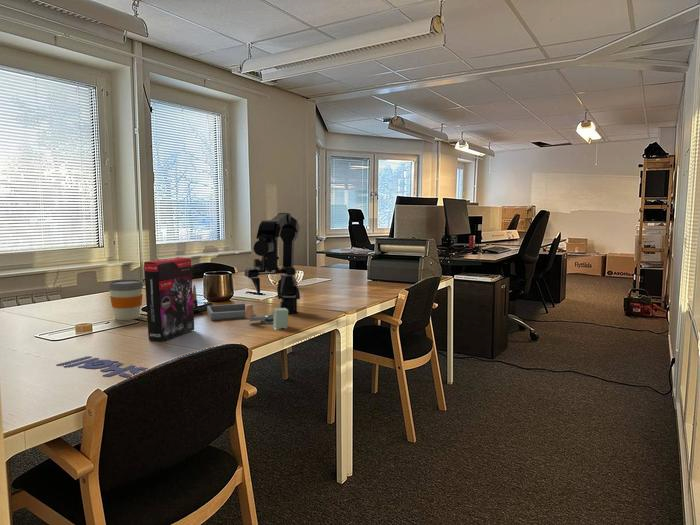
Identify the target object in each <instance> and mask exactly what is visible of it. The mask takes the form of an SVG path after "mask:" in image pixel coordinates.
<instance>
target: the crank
mask: <svg viewBox="0 0 700 525" xmlns="http://www.w3.org/2000/svg"><path fill="white" fill-rule="evenodd" d="M273 318H274V314H269V313H268V314H264V315H257V316H254V305H253V304H250V303H249V304H248V303H247V305H245V318H244V319H248V321H249V322H254V321H257V322H259V321H261V320H266V321H271V320H273Z"/></svg>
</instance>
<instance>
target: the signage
mask: <svg viewBox="0 0 700 525" xmlns="http://www.w3.org/2000/svg"><path fill="white" fill-rule="evenodd" d="M71 363H72V364H71ZM55 365H56V366H58V367H63V368H70V367H71V368H74V367H77V368H79V369H85V370H98V369H99V370H100V372H102V373H105V374H103V375H102V377H104V378H105V377H107V378H108V377H109V378H111V377H113V376H117V375H118V376H119V377H121V378H127V379H128V377H131V376H132V375H135V374H137V373H139V372H141V371H143V370H146V369H148V368H149V367H145V366H143V367H142V366H140V367H139V366H138V367H137V365H133V364H131V365H128V366H125V367H123V368H122V366H123V365H125V364H124V363H123V362H119V361H118V360H111V359H100V358H99V357H93V356H91V355H90V356H89V355H87V356H83V357H79V358H76V359H72V360H69V361H65V362H60V363H56V364H55ZM64 365H65V366H64ZM135 367H136V368H135ZM128 371H129V373H126V372H128ZM107 372H108V373H107Z"/></svg>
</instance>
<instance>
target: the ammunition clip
mask: <svg viewBox="0 0 700 525" xmlns="http://www.w3.org/2000/svg"><path fill="white" fill-rule="evenodd" d="M192 290H193V307H198V308H199V305H198V299H197V298H198V297H197V288H196V284H194V283H193V284H192Z"/></svg>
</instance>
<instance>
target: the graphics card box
mask: <svg viewBox="0 0 700 525" xmlns="http://www.w3.org/2000/svg"><path fill="white" fill-rule="evenodd" d="M143 268H144V269H143V270H144V285H145V288H144V289H145V300H146V302H145V303H146V318H147V336H148V340H149V341H157V342H165V341H166V340H170V339H173V338H175V337H177V336H180V335H184V334H186V333H189V332H191V331H194V330H195V315H194V314H195V312H194V310H193V275H192V274H193V273H192V272H193V271H192V259H191V258H190V257H189V258H188V257H183V256H182V257H180V256H179V257H178V256H177V257H173V258H165V259H158V260H150V261H149V260H148V261H144V262H143Z"/></svg>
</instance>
